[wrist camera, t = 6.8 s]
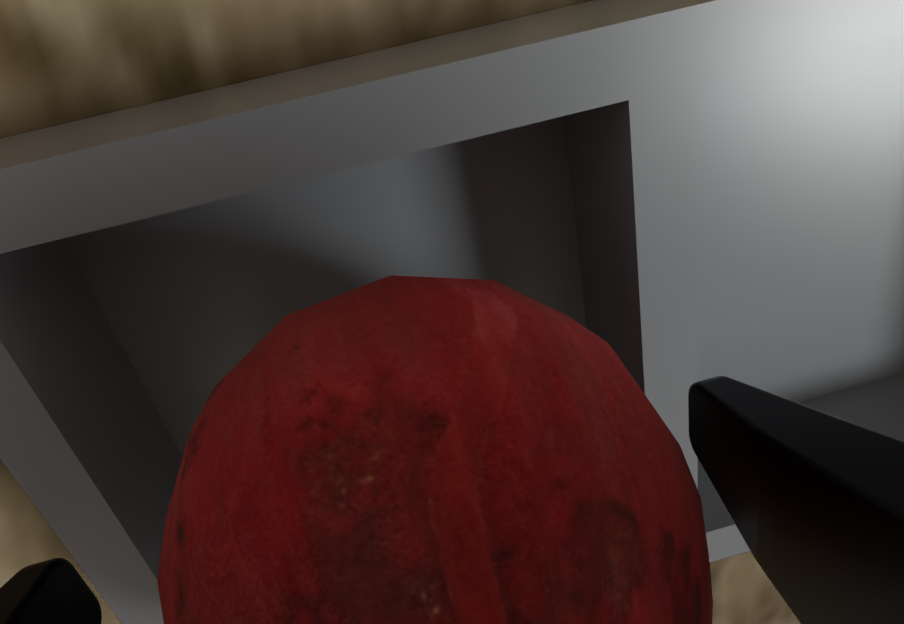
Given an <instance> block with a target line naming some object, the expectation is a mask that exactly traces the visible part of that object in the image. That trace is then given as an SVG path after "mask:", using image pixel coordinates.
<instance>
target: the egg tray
mask: <svg viewBox="0 0 904 624" xmlns="http://www.w3.org/2000/svg"><path fill="white" fill-rule="evenodd" d="M391 275H395V276H417V277H439V278H461V279H483V280H495V281H497V282H499V283H501V284H503V285H505V286H507V287H509V288H511V289H514V290H516V291H518V292H520V293H522V294H524V295H526V296H528V297H530V298H532V299H534V300H536V301H538V302H540V303H543V304H545V305H547V306H549V307H551V308H553V309H555V310H557V311H559V312H561V313H563V314H565V315H567V316H569V317H570V318H572V319H573V320H575V321H576V322H578V323H579V324H581V325H582V326H584V327H585V328H587V329H588V330H590V331H591V332H593V333H594V334H596V335H597V336H599V337H600V338H602V339H603V340H605V341H606V342H608V343H609V344H610V346H611V347H612V349H613V350H614V352H615V353H616V354H617V356H618V357H619V359H620V360H621V361H622V363H623V364H624V366H625V367H626V368H627V370H628V371H629V373H630V374H631V376H632V377H633V378H634V380H635V381H636V383H637V384H638V385H639V387H640V388H641V390H642V391H643V393H644V394H645V395H646V397H647V398H648V400H649V401H650V403H651V404H652V405H653V407H654V408H655V410H656V411H657V413H658V414H659V416H660V417H661V418H662V420H663V421H664V423H665V424H666V426H667V427H668V429H669V430H670V431H671V433H672V434H673V436H674V437H675V439H676V440H677V442H678V443H679V444H680V447H681V449H682V452H683V454H684V457H685V459H686V462H687V464H688V467H689V469H690V472H691V474H692V477H693V479H694V482H695V484H696V487H697V489H698V492H699V494H700V497H701V502H702V509H703V516H704V524H705V531H706V538H707V545H708V552H709V563H710V562H714V561H717V560H720V559H724V558H727V557H731V556H734V555H737V554H741V553H744V552H747V551H750V549H749V547H748V546H747V544H746V542H745V541H744V539H743V537H742V535H741V534H740V532H739V530H738V528H737V527H736V525H735V523H734V521H733V520H732V518H731V516H730V514H729V513H728V511H727V509H726V507H725V506H724V504H723V502H722V500H721V499H720V497H719V495H718V493H717V491H716V490H715V488H714V486H713V484H712V483H711V481H710V479H709V477H708V476H707V474H706V472H705V470H704V469H703V467H702V465H701V463H700V462H699V460H698V458H697V456H696V455H695V453H694V451H693V448H692V446H691V443H690V439H689V421H688V392H689V388H690V386H691V385H692V384H693V383H695V382H698V381H701V380H705V379H708V378H712V377H716V376H726V377H730V378H732V379H735V380H738V381H740V382H743V383H746V384H749V385H751V386H754V387H757V388H759V389H762V390H765V391H767V392H770V393H773V394H776V395H778V396H781V397H784V398H786V399H789V400H792V401H794V402H797V403H800V404H803V405H805V406H808V407H811V408H813V409H816V410H819V411H822V412H824V413H827V414H830V415H832V416H835V417H838V418H840V419H843V420H846V421H849V422H851V423H854V424H857V425H859V426H862V427H865V428H867V429H870V430H873V431H876V432H878V433H881V434H884V435H886V436H889V437H892V438H895V439H897V440H900V441H903V442H904V0H592V1H588V2H583V3H579V4H575V5H570V6H566V7H562V8H558V9H553V10H549V11H545V12H540V13H536V14H532V15H527V16H523V17H519V18H515V19H510V20H506V21H502V22H497V23H493V24H489V25H485V26H480V27H476V28H472V29H467V30H463V31H459V32H455V33H450V34H446V35H442V36H437V37H433V38H429V39H424V40H420V41H416V42H412V43H407V44H403V45H399V46H394V47H390V48H386V49H382V50H377V51H373V52H369V53H364V54H360V55H356V56H352V57H347V58H343V59H339V60H334V61H330V62H326V63H321V64H317V65H313V66H309V67H304V68H300V69H296V70H291V71H287V72H283V73H279V74H274V75H270V76H266V77H261V78H257V79H253V80H249V81H244V82H240V83H236V84H231V85H227V86H223V87H218V88H214V89H210V90H206V91H201V92H197V93H193V94H188V95H184V96H180V97H176V98H171V99H167V100H163V101H158V102H154V103H150V104H146V105H141V106H137V107H133V108H128V109H124V110H120V111H116V112H111V113H107V114H103V115H98V116H94V117H90V118H85V119H81V120H77V121H73V122H68V123H64V124H60V125H55V126H51V127H47V128H43V129H38V130H34V131H30V132H25V133H21V134H17V135H13V136H8V137H4V138H0V459H1V461H2V462H3V463H4V465H5V466H6V468H7V469H8V470H9V472H10V473H11V474H12V476H13V477H14V478H15V480H16V481H17V482H18V484H19V485H20V486H21V488H22V489H23V491H24V492H25V493H26V495H27V496H28V497H29V499H30V500H31V501H32V503H33V504H34V505H35V507H36V508H37V509H38V511H39V512H40V514H41V515H42V516H43V518H44V519H45V520H46V522H47V523H48V524H49V526H50V527H51V528H52V530H53V531H54V532H55V534H56V535H57V537H58V538H59V539H60V541H61V542H62V543H63V545H64V546H65V547H66V549H67V550H68V551H69V553H70V554H71V555H72V557H73V558H74V560H75V561H76V562H77V564H78V565H79V566H80V568H81V569H82V570H83V572H84V573H85V574H86V576H87V577H88V579H89V580H90V581H91V583H92V584H93V585H94V587H95V588H96V589H97V591H98V592H99V593H100V595H101V596H102V597H103V599H104V600H105V602H106V603H107V604H108V606H109V607H110V608H111V610H112V611H113V612H114V614H115V615H116V616H117V618H118V619H119V620H120V622H121V623H122V624H164V621H163V615H162V609H161V602H160V596H159V589H158V583H157V579H158V572H159V564H160V556H161V549H162V541H163V533H164V526H165V518H166V515H167V511H168V508H169V504H170V501H171V497H172V494H173V490H174V487H175V483H176V480H177V476H178V473H179V469H180V466H181V462H182V459H183V455H184V452H185V448H186V445H187V441H188V438H189V434H190V432H191V430H192V428H193V426H194V424H195V423H196V421H197V419H198V417H199V415H200V413H201V411H202V409H203V407H204V405H205V403H206V402H207V400H208V398H209V396H210V394H211V392H212V390H213V388H214V387H215V386H216V385H217V384H218V383H219V382H220V381H221V380H222V379H223V378H224V377H225V376H226V375H227V374H228V373H229V372H230V371H231V370H232V369H233V368H234V367H235V366H236V365H237V364H238V363H239V362H240V361H241V360H242V359H243V358H244V357H245V356H246V355H247V354H248V353H249V352H250V351H251V350H252V349H253V348H254V347H255V346H256V345H257V344H258V343H259V342H260V341H261V340H262V339H263V338H264V337H265V336H266V335H267V334H268V333H269V332H270V331H271V330H272V329H273V328H274V327H275V326H276V325H277V324H278V323H279V322H280V321H281V320H282V319H283V318H284V317H285V316H287V315H289V314H291V313H294V312H296V311H299V310H301V309H304V308H306V307H309V306H311V305H314V304H317V303H319V302H322V301H325V300H327V299H330V298H332V297H335V296H338V295H340V294H343V293H345V292H348V291H351V290H353V289H356V288H359V287H361V286H364V285H366V284H369V283H372V282H374V281H377V280H379V279H382V278H385V277H388V276H391Z"/></svg>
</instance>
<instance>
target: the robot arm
mask: <svg viewBox="0 0 904 624" xmlns="http://www.w3.org/2000/svg"><path fill="white" fill-rule="evenodd" d="M688 421H689V439H690V443H691V446H692V448H693V451H694V453H695V455H696V456H697V458H698V460H699V462H700V463H701V465H702V467H703V469H704V470H705V472H706V474H707V476H708V477H709V479H710V481H711V483H712V484H713V486H714V488H715V490H716V491H717V493H718V495H719V497H720V499H721V500H722V502H723V504H724V506H725V507H726V509H727V511H728V513H729V514H730V516H731V518H732V520H733V521H734V523H735V525H736V527H737V528H738V530H739V532H740V534H741V535H742V537H743V539H744V541H745V542H746V544H747V546H748V547H749V549H750V551H751V552H752V554H753V556H754V557H755V559H756V561H757V562H758V563H759V565H760V566H761V568H762V569H763V571H764V572H765V574H766V575H767V577H768V578H769V580H770V581H771V582H772V584H773V585H774V587H775V588H776V589H777V591H778V592H779V593H780V595H781V596H782V598H783V599H784V600H785V602H786V603H787V605H788V606H789V607H790V609H791V610H792V612H793V613H794V614H795V616H796V617H797V619H798V620H799V621H800V623H801V624H904V442H903V441H900V440H897V439H895V438H892V437H889V436H886V435H884V434H881V433H878V432H876V431H873V430H870V429H867V428H865V427H862V426H859V425H857V424H854V423H851V422H849V421H846V420H843V419H840V418H838V417H835V416H832V415H830V414H827V413H824V412H822V411H819V410H816V409H813V408H811V407H808V406H805V405H803V404H800V403H797V402H794V401H792V400H789V399H786V398H784V397H781V396H778V395H776V394H773V393H770V392H767V391H765V390H762V389H759V388H757V387H754V386H751V385H749V384H746V383H743V382H740V381H738V380H735V379H732V378H730V377H726V376H716V377H712V378H708V379H705V380H701V381H698V382H695V383H693V384H692V385H691V386H690V388H689V392H688ZM101 619H102V617H101V608H100V604H99V602H98V600H97V598H96V596H95V595H94V594H93V592H92V591H91V590H90V588H89V587H88V586H87V584H86V583H85V582H84V580H83V579H82V578H81V576H80V575H79V574H78V572H77V571H76V569H75V568H74V567H73V565H72V564H71V563H70V562H69V561H67V560H65V559H63V558H55V559H51V560H47V561H44V562H40V563H36V564H33V565H30V566H27V567H25V568H23V569H21V570H20V571H19V572H18V573H16V574H15V575H14V576H13V577H12V578H11V579H10V580H9V581H8V582H7V583H6V584H5V585H3V586H2V587H1V588H0V624H101Z"/></svg>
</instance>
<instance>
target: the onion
mask: <svg viewBox="0 0 904 624" xmlns="http://www.w3.org/2000/svg"><path fill="white" fill-rule="evenodd" d="M157 583H158V589H159V596H160V602H161V609H162V615H163V621H164V624H712V608H713V599H712V587H711V575H710V563H709V552H708V545H707V538H706V531H705V524H704V516H703V509H702V502H701V497H700V494H699V492H698V489H697V487H696V484H695V482H694V479H693V477H692V474H691V472H690V469H689V467H688V464H687V462H686V459H685V457H684V454H683V452H682V449H681V447H680V444H679V443H678V442H677V440H676V439H675V437H674V436H673V434H672V433H671V431H670V430H669V429H668V427H667V426H666V424H665V423H664V421H663V420H662V418H661V417H660V416H659V414H658V413H657V411H656V410H655V408H654V407H653V405H652V404H651V403H650V401H649V400H648V398H647V397H646V395H645V394H644V393H643V391H642V390H641V388H640V387H639V385H638V384H637V383H636V381H635V380H634V378H633V377H632V376H631V374H630V373H629V371H628V370H627V368H626V367H625V366H624V364H623V363H622V361H621V360H620V359H619V357H618V356H617V354H616V353H615V352H614V350H613V349H612V347H611V346H610V344H609V343H608V342H606V341H605V340H603V339H602V338H600V337H599V336H597V335H596V334H594V333H593V332H591V331H590V330H588V329H587V328H585V327H584V326H582V325H581V324H579V323H578V322H576V321H575V320H573V319H572V318H570V317H569V316H567V315H565V314H563V313H561V312H559V311H557V310H555V309H553V308H551V307H549V306H547V305H545V304H543V303H540V302H538V301H536V300H534V299H532V298H530V297H528V296H526V295H524V294H522V293H520V292H518V291H516V290H514V289H511V288H509V287H507V286H505V285H503V284H501V283H499V282H497V281H495V280H483V279H461V278H439V277H417V276H395V275H391V276H388V277H385V278H382V279H379V280H377V281H374V282H372V283H369V284H366V285H364V286H361V287H359V288H356V289H353V290H351V291H348V292H345V293H343V294H340V295H338V296H335V297H332V298H330V299H327V300H325V301H322V302H319V303H317V304H314V305H311V306H309V307H306V308H304V309H301V310H299V311H296V312H294V313H291V314H289V315H287V316H285V317H284V318H283V319H282V320H281V321H280V322H279V323H278V324H277V325H276V326H275V327H274V328H273V329H272V330H271V331H270V332H269V333H268V334H267V335H266V336H265V337H264V338H263V339H262V340H261V341H260V342H259V343H258V344H257V345H256V346H255V347H254V348H253V349H252V350H251V351H250V352H249V353H248V354H247V355H246V356H245V357H244V358H243V359H242V360H241V361H240V362H239V363H238V364H237V365H236V366H235V367H234V368H233V369H232V370H231V371H230V372H229V373H228V374H227V375H226V376H225V377H224V378H223V379H222V380H221V381H220V382H219V383H218V384H217V385H216V386H215V387H214V388H213V390H212V392H211V394H210V396H209V398H208V400H207V402H206V403H205V405H204V407H203V409H202V411H201V413H200V415H199V417H198V419H197V421H196V423H195V424H194V426H193V428H192V430H191V432H190V434H189V438H188V441H187V445H186V448H185V452H184V455H183V459H182V462H181V466H180V469H179V473H178V476H177V480H176V483H175V487H174V490H173V494H172V497H171V501H170V504H169V508H168V511H167V515H166V518H165V526H164V533H163V541H162V549H161V556H160V564H159V572H158V579H157Z"/></svg>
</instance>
